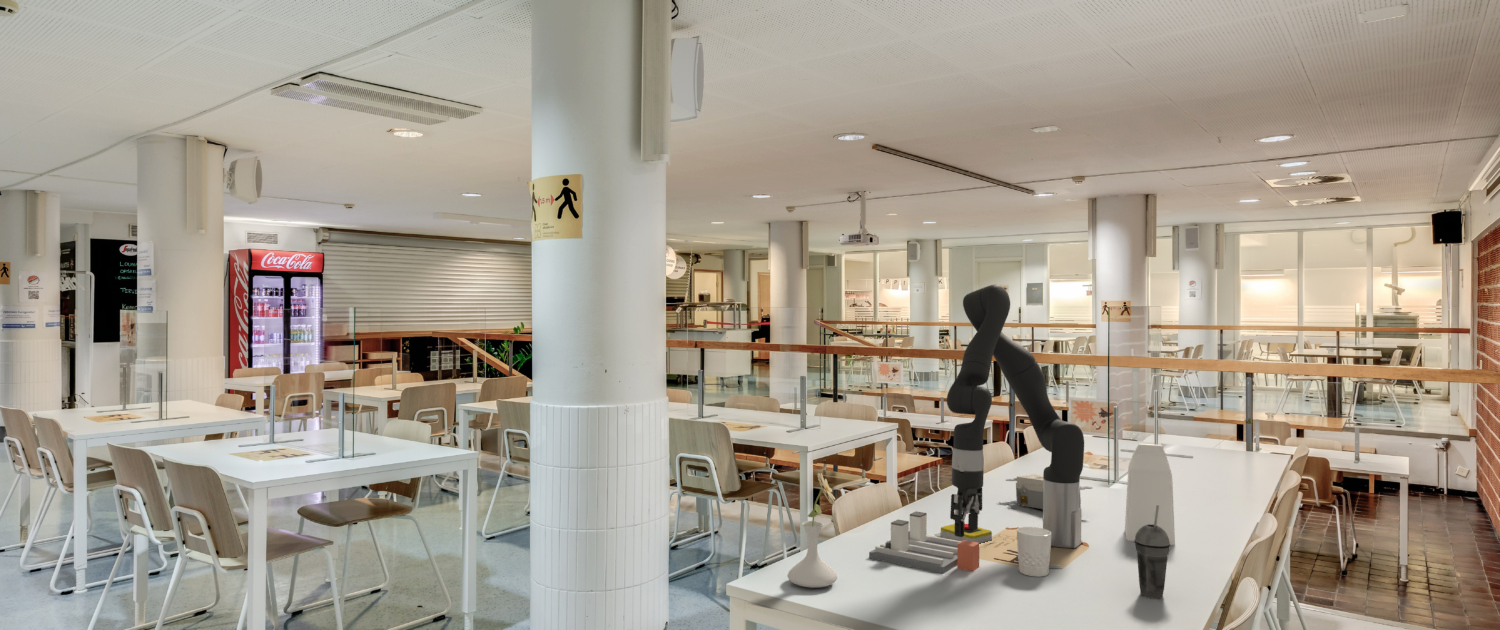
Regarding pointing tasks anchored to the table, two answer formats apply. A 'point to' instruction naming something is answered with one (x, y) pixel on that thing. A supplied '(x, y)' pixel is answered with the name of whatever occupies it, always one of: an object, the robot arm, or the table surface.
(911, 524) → the off-white rectangular block
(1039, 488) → the grey labelled box
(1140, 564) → the beverage cup
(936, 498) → the table surface
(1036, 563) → the white cup
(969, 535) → the emergency button
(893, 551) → the board
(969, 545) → the cap
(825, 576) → the flower in vase
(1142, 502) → the milk
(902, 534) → the block
